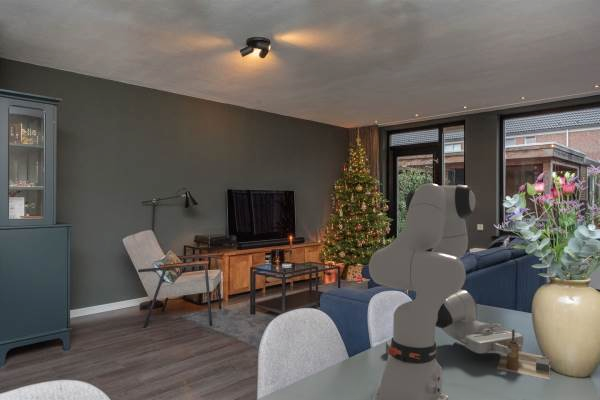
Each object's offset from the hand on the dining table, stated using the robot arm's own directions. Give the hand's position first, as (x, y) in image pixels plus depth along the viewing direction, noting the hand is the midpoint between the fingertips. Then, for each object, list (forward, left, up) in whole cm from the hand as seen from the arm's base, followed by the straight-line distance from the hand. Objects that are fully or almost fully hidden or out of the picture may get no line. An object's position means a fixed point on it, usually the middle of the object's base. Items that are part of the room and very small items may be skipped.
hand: (515, 349), depth 130 cm
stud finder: (+7, -7, -6) cm, 11 cm away
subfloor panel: (+8, -2, -7) cm, 11 cm away
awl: (+1, +1, -6) cm, 6 cm away
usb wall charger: (-7, +35, -7) cm, 36 cm away
